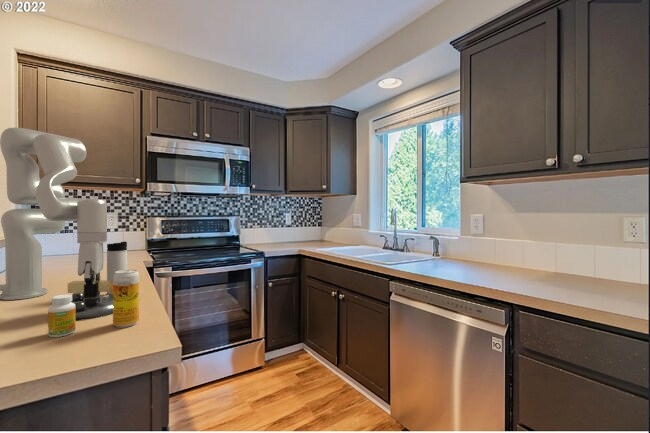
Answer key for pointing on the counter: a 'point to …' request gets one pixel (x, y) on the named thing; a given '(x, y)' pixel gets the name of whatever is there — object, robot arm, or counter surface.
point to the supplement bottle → (61, 316)
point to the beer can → (125, 298)
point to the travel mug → (116, 259)
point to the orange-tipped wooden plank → (101, 287)
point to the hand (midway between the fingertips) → (92, 294)
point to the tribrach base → (92, 307)
